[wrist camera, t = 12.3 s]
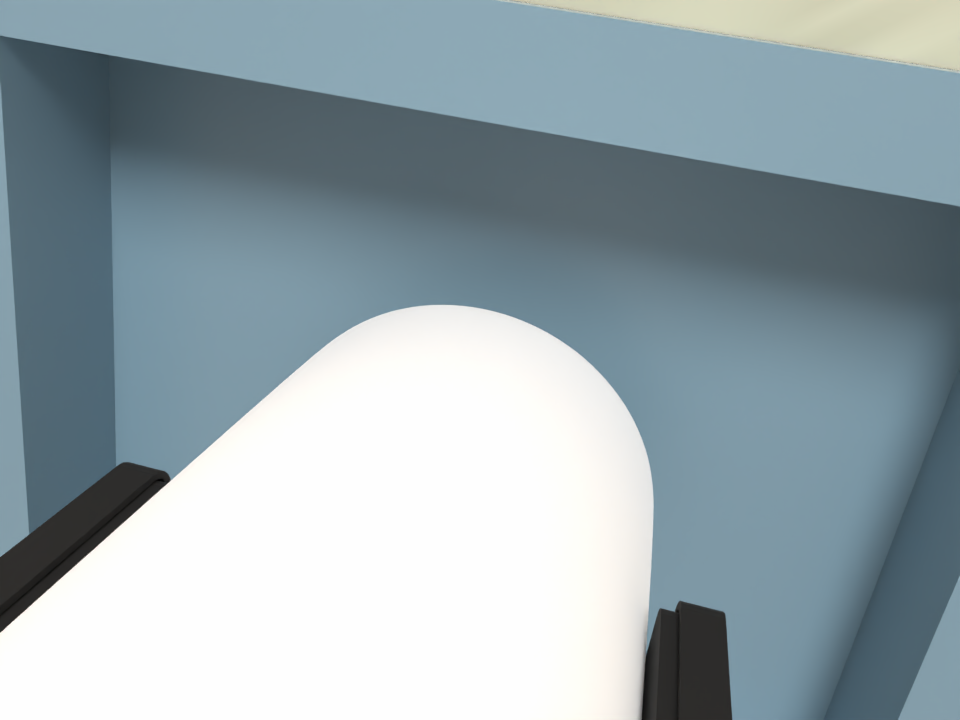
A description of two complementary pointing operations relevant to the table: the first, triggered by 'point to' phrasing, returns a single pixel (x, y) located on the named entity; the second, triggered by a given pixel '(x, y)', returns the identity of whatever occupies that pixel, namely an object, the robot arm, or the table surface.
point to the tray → (519, 278)
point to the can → (373, 549)
